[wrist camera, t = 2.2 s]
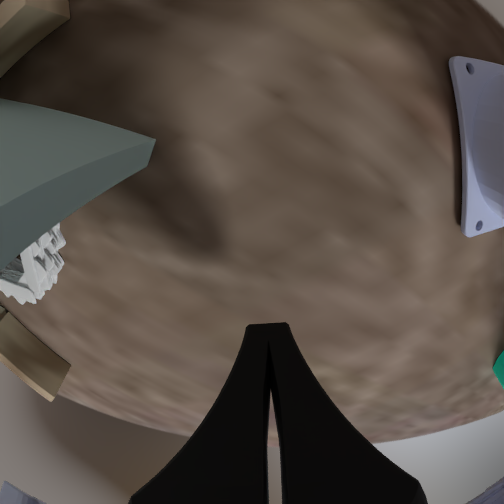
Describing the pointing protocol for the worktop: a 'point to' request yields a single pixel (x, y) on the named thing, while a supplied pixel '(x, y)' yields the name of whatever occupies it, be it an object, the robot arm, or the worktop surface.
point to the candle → (499, 369)
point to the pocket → (3, 324)
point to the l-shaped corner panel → (53, 185)
